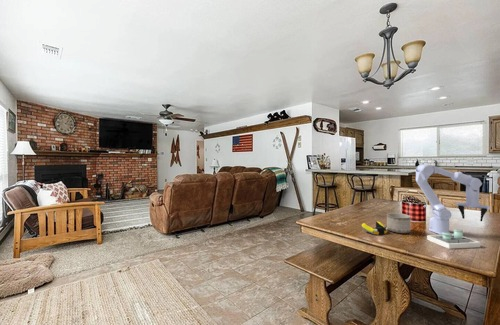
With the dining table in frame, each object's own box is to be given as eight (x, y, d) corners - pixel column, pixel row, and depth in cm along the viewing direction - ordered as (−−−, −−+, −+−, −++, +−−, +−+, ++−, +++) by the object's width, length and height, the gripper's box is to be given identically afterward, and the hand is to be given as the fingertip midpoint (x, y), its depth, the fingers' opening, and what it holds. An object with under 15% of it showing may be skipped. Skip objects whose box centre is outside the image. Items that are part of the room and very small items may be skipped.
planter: (389, 233, 141) (389, 217, 141) (385, 227, 153) (385, 212, 153) (413, 235, 137) (413, 218, 136) (407, 229, 148) (407, 213, 148)
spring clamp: (360, 231, 146) (372, 236, 137) (360, 222, 146) (372, 227, 137) (378, 228, 151) (391, 233, 141) (378, 220, 151) (391, 224, 141)
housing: (449, 248, 117) (449, 238, 117) (427, 239, 130) (427, 230, 130) (480, 247, 118) (480, 236, 118) (455, 238, 131) (455, 228, 131)
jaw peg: (451, 240, 126) (451, 229, 126) (458, 239, 126) (458, 229, 126) (458, 242, 122) (458, 231, 122) (465, 242, 123) (464, 231, 123)
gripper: (455, 196, 138) (455, 218, 139) (489, 199, 128) (489, 223, 128) (456, 195, 143) (456, 216, 143) (490, 198, 132) (489, 221, 133)
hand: (472, 219), depth 136 cm, fingers open, 7 cm apart
